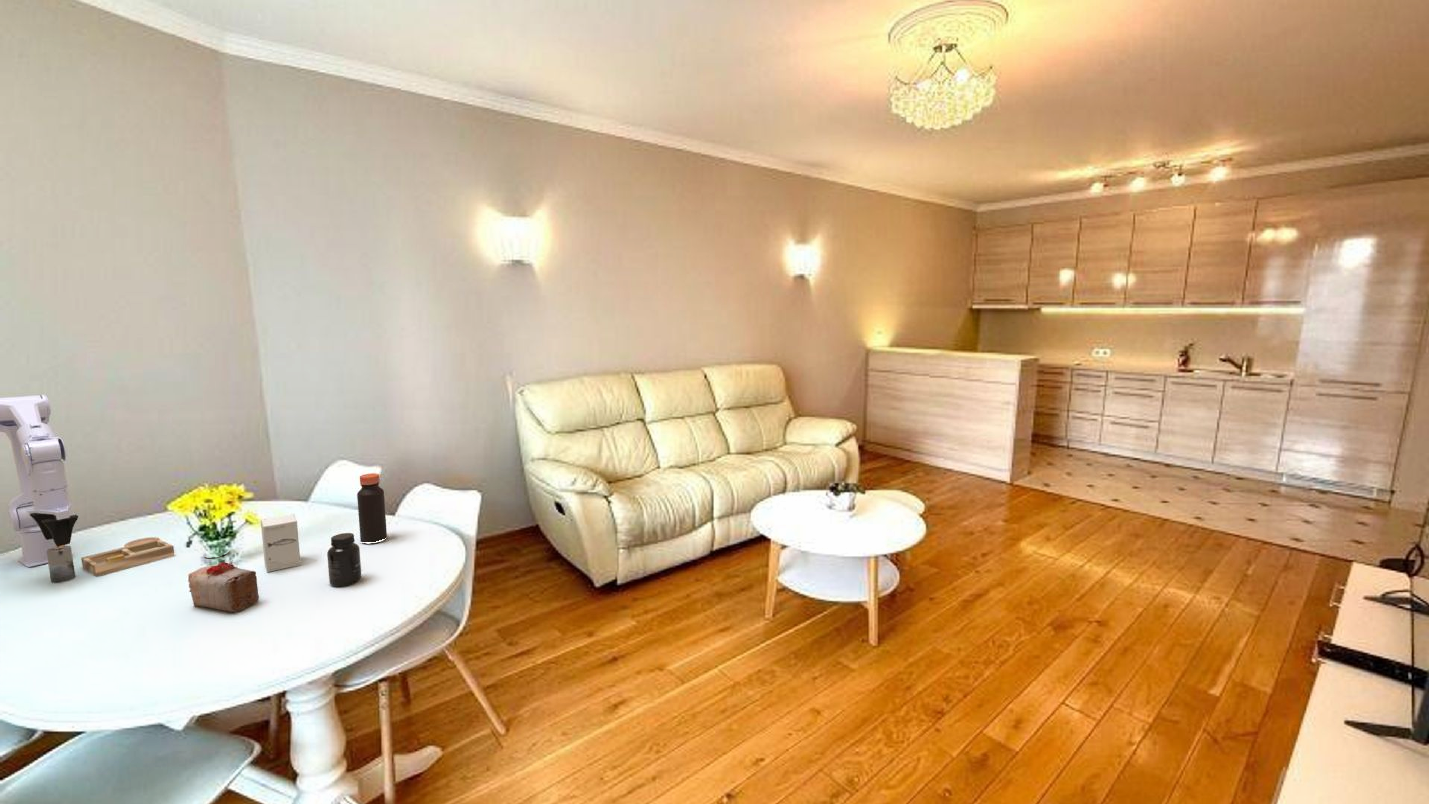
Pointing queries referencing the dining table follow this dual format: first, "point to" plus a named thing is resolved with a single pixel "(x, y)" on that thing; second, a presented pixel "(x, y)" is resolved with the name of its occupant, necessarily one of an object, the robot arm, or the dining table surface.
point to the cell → (60, 564)
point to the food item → (223, 587)
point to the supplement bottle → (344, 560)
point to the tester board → (127, 557)
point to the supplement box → (280, 542)
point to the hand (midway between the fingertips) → (57, 541)
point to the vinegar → (371, 509)
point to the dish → (139, 541)
